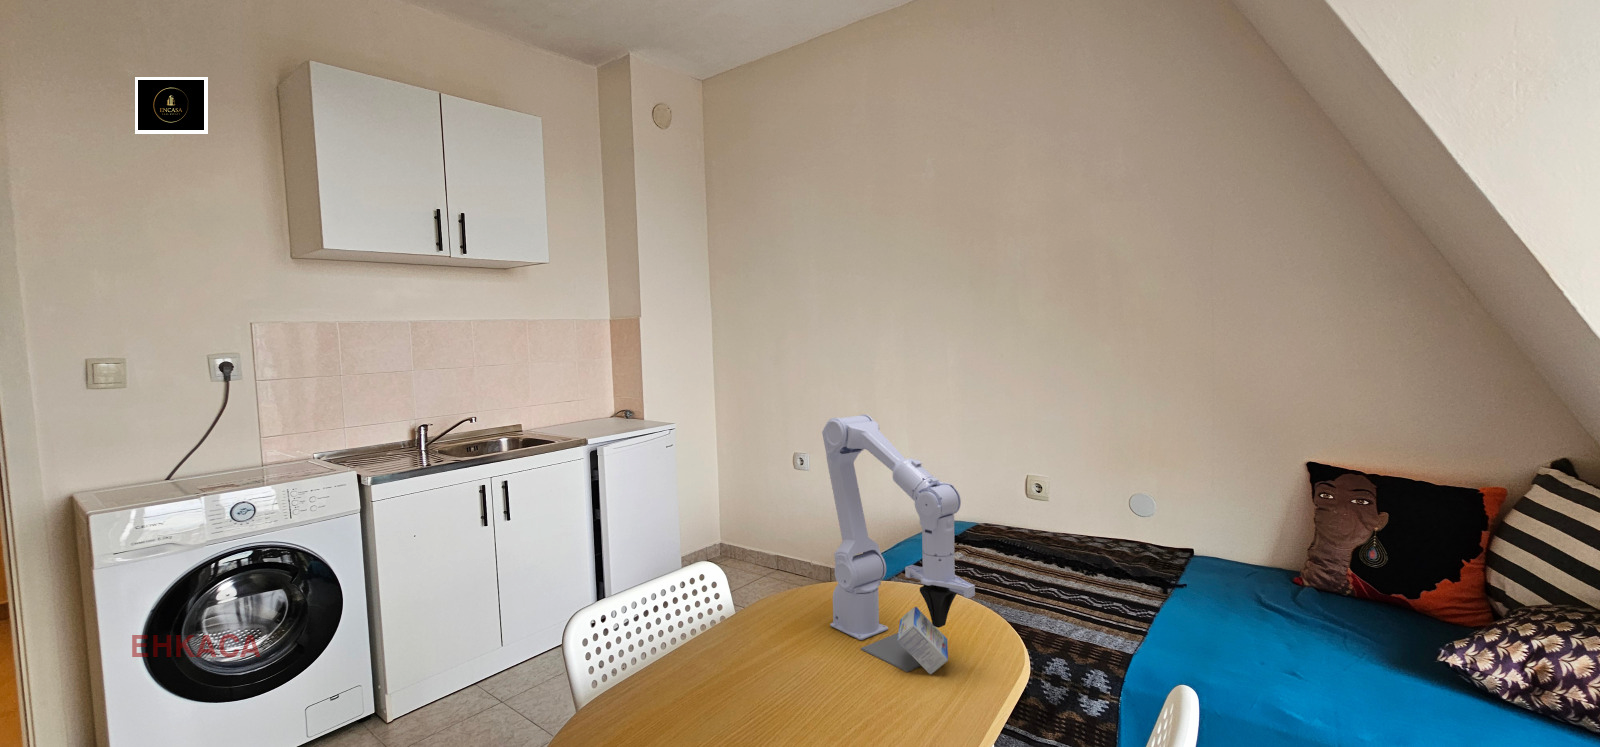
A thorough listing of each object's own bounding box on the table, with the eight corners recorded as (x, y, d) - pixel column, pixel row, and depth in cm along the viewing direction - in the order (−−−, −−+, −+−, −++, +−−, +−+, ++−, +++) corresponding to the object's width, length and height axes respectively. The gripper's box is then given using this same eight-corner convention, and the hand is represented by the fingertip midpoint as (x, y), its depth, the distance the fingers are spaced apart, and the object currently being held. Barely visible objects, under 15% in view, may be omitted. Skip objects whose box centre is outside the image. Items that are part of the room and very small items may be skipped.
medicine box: (949, 661, 119) (914, 624, 119) (930, 676, 120) (895, 639, 120) (948, 639, 126) (915, 605, 127) (930, 653, 127) (898, 619, 128)
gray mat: (860, 649, 131) (860, 648, 131) (899, 633, 137) (899, 631, 137) (907, 672, 121) (907, 670, 121) (946, 653, 128) (946, 652, 128)
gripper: (893, 547, 126) (894, 619, 127) (956, 566, 115) (957, 645, 115) (919, 539, 130) (919, 609, 131) (982, 557, 119) (982, 633, 120)
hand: (939, 625), depth 123 cm, fingers closed
